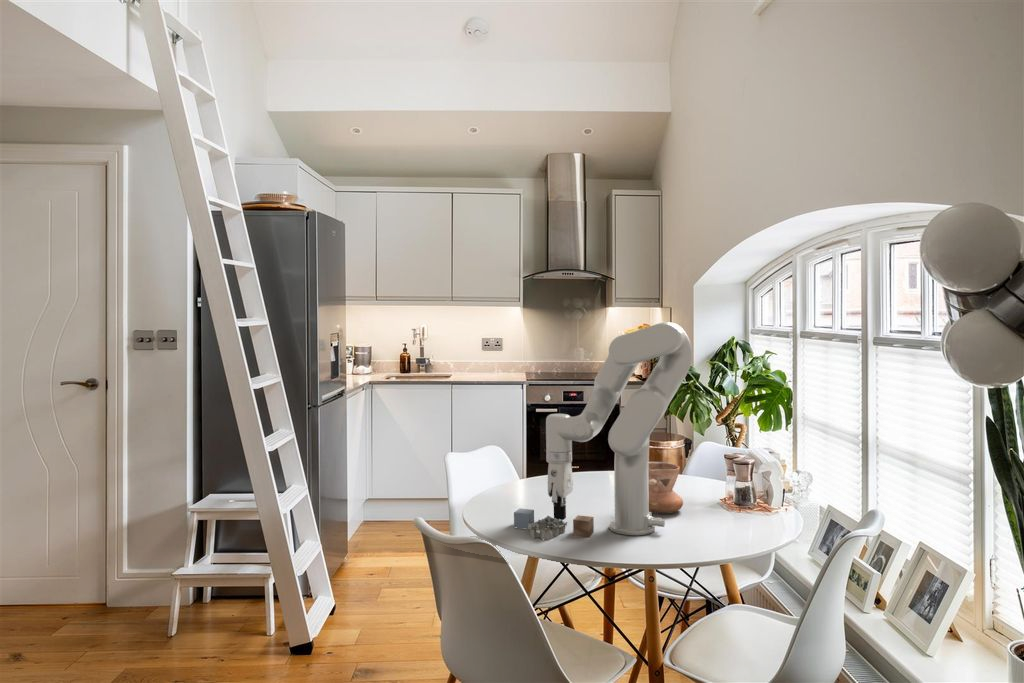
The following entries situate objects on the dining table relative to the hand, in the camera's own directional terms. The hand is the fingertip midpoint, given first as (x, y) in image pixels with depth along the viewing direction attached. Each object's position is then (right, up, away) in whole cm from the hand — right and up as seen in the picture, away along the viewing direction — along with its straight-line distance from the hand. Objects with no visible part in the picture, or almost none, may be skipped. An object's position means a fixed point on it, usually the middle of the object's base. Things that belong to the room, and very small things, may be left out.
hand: (559, 518), depth 187 cm
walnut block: (+6, -1, -11) cm, 12 cm away
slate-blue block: (-11, -1, -3) cm, 11 cm away
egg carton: (-4, -2, -10) cm, 11 cm away
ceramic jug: (+32, -1, +12) cm, 34 cm away
